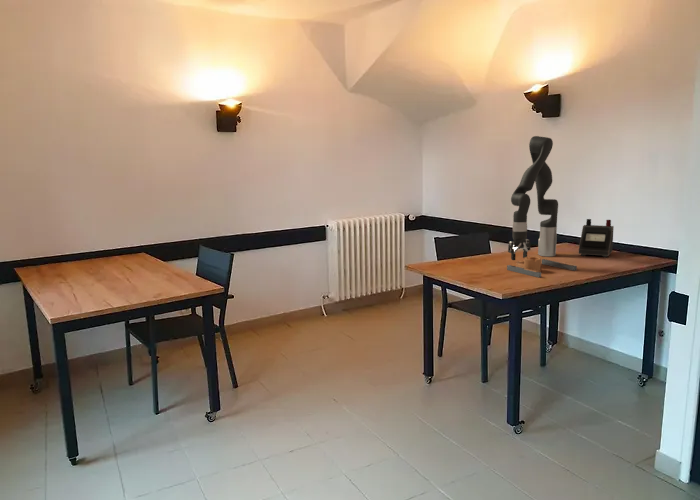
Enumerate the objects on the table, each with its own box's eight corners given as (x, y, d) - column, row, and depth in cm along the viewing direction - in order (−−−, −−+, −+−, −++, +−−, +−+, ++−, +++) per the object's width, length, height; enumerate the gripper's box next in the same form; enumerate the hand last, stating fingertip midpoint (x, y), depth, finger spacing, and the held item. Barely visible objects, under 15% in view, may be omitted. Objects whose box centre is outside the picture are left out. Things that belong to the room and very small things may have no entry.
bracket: (543, 272, 286) (543, 259, 284) (527, 273, 285) (528, 260, 283) (528, 265, 303) (528, 253, 302) (513, 266, 302) (514, 253, 301)
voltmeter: (578, 256, 322) (579, 222, 319) (583, 251, 336) (584, 218, 333) (608, 258, 314) (610, 223, 310) (612, 253, 328) (613, 219, 324)
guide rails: (506, 269, 293) (507, 264, 293) (543, 263, 306) (543, 258, 305) (538, 277, 274) (539, 272, 273) (576, 270, 286) (576, 265, 286)
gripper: (524, 228, 307) (523, 256, 309) (505, 230, 300) (504, 259, 303) (534, 229, 300) (533, 258, 303) (515, 232, 293) (514, 262, 296)
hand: (519, 259), depth 303 cm, fingers open, 8 cm apart
